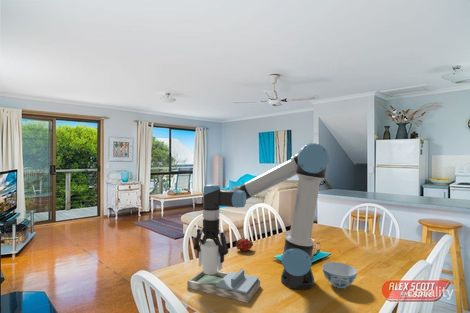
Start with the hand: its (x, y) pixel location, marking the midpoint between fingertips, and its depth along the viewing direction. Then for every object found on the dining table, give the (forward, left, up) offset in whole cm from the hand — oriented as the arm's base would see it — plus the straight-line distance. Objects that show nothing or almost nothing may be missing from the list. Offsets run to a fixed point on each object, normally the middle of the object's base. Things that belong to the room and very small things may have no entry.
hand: (210, 267), depth 125 cm
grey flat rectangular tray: (-7, 0, -8) cm, 10 cm away
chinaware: (-54, -24, -8) cm, 60 cm away
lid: (-14, 0, -4) cm, 14 cm away
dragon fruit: (+2, -47, -8) cm, 48 cm away
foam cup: (0, 0, -2) cm, 2 cm away
